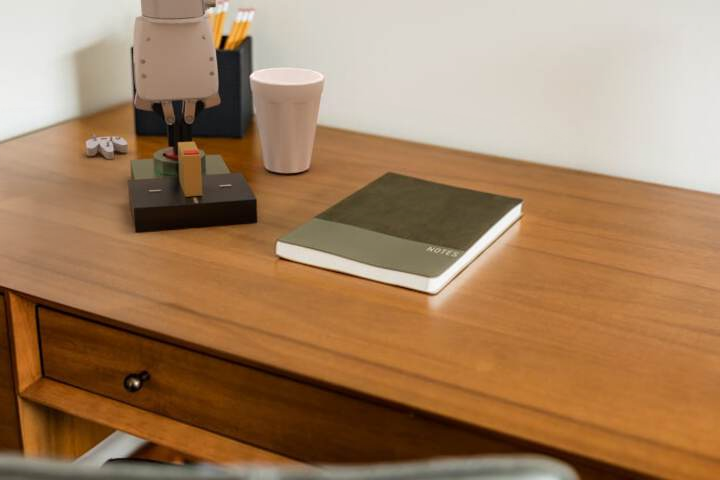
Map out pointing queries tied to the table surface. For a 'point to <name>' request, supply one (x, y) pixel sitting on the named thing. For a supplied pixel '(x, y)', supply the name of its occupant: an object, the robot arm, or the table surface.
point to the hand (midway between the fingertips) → (180, 151)
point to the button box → (173, 166)
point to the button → (170, 154)
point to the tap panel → (191, 203)
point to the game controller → (106, 146)
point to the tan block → (190, 169)
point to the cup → (287, 115)
